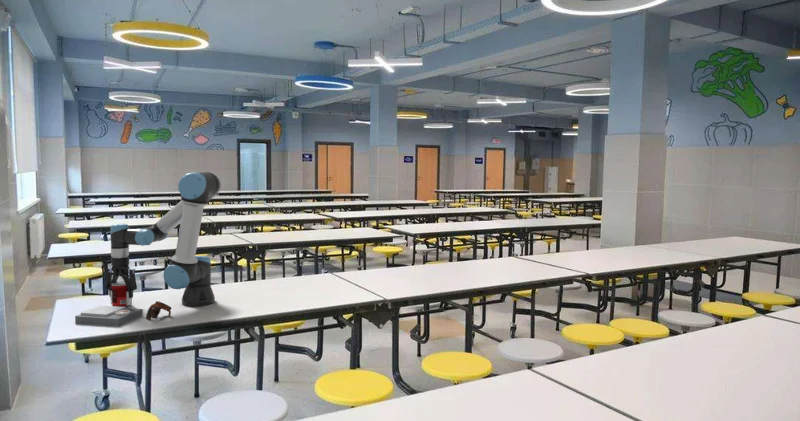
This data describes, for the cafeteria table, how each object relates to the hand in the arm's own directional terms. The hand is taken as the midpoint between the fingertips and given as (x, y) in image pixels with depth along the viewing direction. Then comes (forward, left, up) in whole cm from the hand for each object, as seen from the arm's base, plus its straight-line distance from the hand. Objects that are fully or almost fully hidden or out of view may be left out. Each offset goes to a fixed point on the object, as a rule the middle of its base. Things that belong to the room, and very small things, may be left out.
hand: (121, 304), depth 254 cm
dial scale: (-10, +21, -1) cm, 23 cm away
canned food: (0, 0, -1) cm, 1 cm away
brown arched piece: (-29, +15, -1) cm, 32 cm away
